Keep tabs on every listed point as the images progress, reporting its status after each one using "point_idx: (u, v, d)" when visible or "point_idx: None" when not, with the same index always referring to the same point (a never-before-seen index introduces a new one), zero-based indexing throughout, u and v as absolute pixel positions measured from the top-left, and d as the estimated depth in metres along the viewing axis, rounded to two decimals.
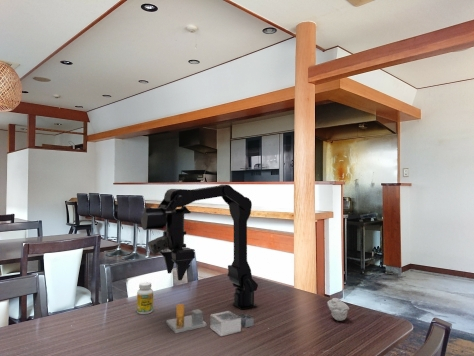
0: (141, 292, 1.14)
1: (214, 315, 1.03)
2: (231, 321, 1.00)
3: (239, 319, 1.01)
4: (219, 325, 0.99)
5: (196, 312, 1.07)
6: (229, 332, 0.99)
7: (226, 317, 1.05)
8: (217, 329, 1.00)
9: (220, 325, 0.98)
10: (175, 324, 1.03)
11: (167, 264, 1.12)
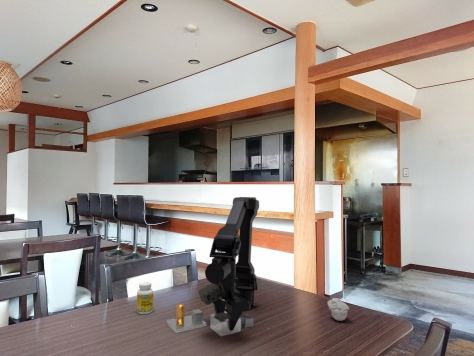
0: (141, 292, 1.14)
1: (214, 315, 1.03)
2: None
3: (239, 319, 1.01)
4: (219, 325, 0.99)
5: (196, 312, 1.07)
6: (229, 332, 0.99)
7: (226, 317, 1.05)
8: (217, 329, 1.00)
9: (220, 325, 0.98)
10: (175, 324, 1.03)
11: (217, 312, 1.05)
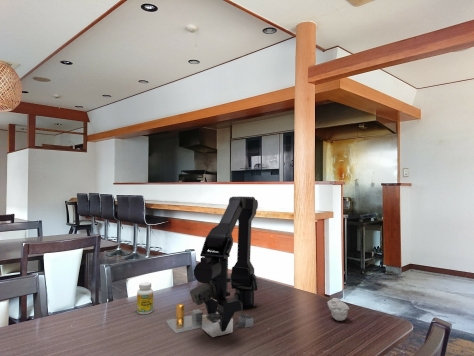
0: (141, 292, 1.14)
1: (206, 316, 1.01)
2: None
3: (231, 320, 1.00)
4: (210, 326, 0.97)
5: (196, 312, 1.07)
6: (221, 333, 0.98)
7: (218, 318, 1.04)
8: (209, 330, 0.98)
9: (212, 325, 0.97)
10: (175, 324, 1.03)
11: (209, 313, 1.04)
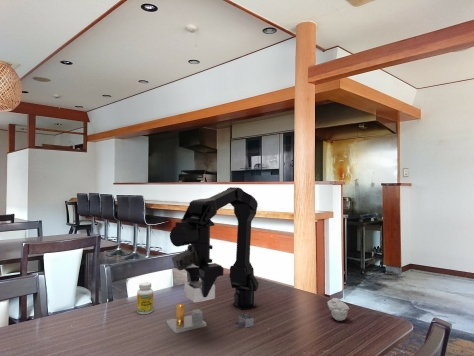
0: (141, 292, 1.14)
1: (188, 283, 1.02)
2: None
3: (213, 287, 1.00)
4: (192, 291, 0.98)
5: (196, 312, 1.07)
6: (203, 299, 0.99)
7: (201, 285, 1.04)
8: (191, 296, 0.99)
9: (193, 291, 0.97)
10: (175, 324, 1.03)
11: (192, 281, 1.04)
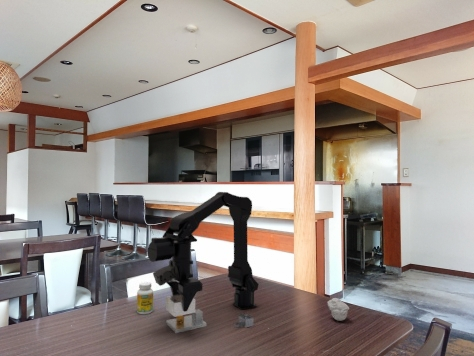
0: (141, 292, 1.14)
1: (170, 297, 1.05)
2: None
3: (193, 301, 1.03)
4: (172, 306, 1.01)
5: (196, 312, 1.07)
6: (183, 313, 1.01)
7: None
8: (171, 310, 1.02)
9: (173, 305, 1.00)
10: (175, 324, 1.03)
11: (174, 294, 1.07)
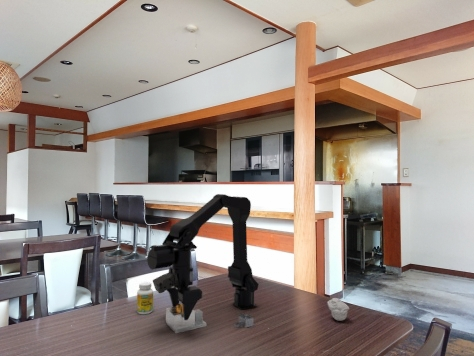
0: (141, 292, 1.14)
1: (169, 309, 1.05)
2: None
3: (193, 313, 1.03)
4: (172, 318, 1.01)
5: (196, 312, 1.07)
6: (182, 325, 1.01)
7: None
8: (171, 322, 1.02)
9: (173, 318, 1.00)
10: None
11: (173, 301, 1.08)
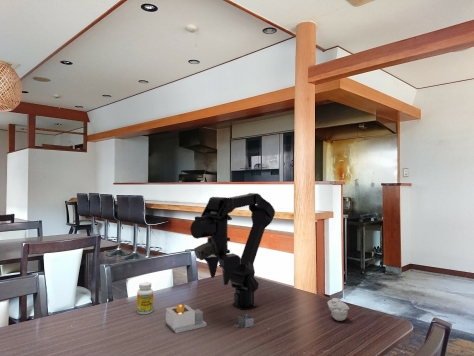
0: (141, 292, 1.14)
1: (169, 309, 1.05)
2: (184, 314, 1.02)
3: (193, 313, 1.03)
4: (172, 318, 1.01)
5: (196, 312, 1.07)
6: (182, 325, 1.01)
7: None
8: (171, 322, 1.02)
9: (173, 318, 1.00)
10: None
11: (210, 269, 1.16)
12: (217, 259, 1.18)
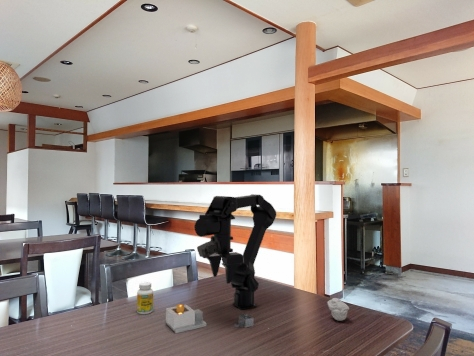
0: (141, 292, 1.14)
1: (169, 309, 1.05)
2: (184, 314, 1.02)
3: (193, 313, 1.03)
4: (172, 318, 1.01)
5: (196, 312, 1.07)
6: (182, 325, 1.01)
7: None
8: (171, 322, 1.02)
9: (173, 318, 1.00)
10: None
11: (213, 268, 1.17)
12: (219, 258, 1.19)
